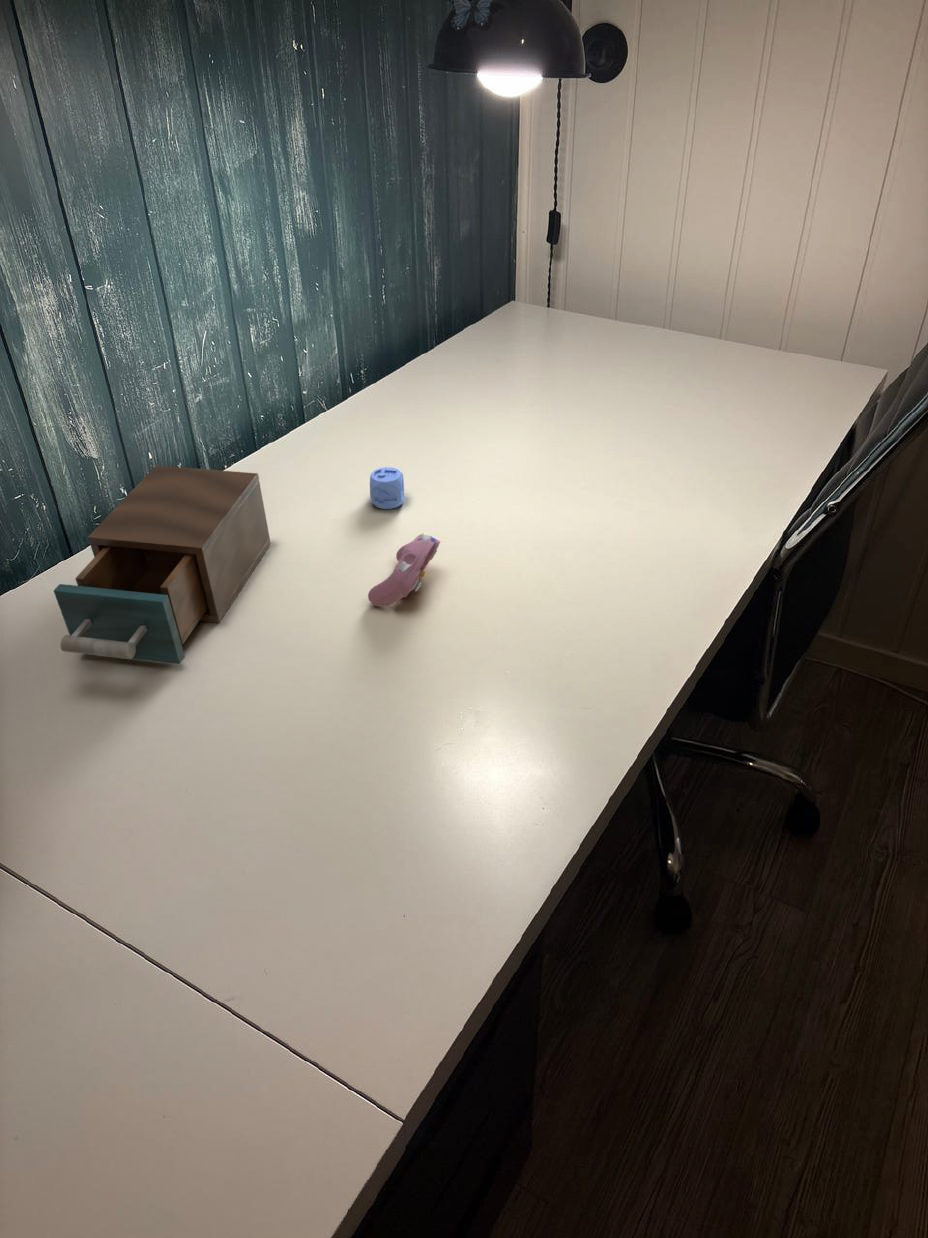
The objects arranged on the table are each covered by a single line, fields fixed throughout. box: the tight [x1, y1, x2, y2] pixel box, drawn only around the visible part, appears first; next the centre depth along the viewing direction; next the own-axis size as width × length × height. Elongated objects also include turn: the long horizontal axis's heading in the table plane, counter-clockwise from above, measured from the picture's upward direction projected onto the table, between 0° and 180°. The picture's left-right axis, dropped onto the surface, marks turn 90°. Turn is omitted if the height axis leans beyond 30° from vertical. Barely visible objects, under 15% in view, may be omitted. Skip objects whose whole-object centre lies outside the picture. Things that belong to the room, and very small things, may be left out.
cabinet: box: [87, 465, 272, 624], centre depth 104 cm, size 16×13×10 cm
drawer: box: [53, 546, 208, 665], centre depth 95 cm, size 19×12×8 cm, turn 169°
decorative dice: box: [369, 466, 405, 510], centre depth 118 cm, size 4×4×4 cm
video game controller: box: [367, 532, 441, 607], centre depth 102 cm, size 10×5×7 cm, turn 161°
